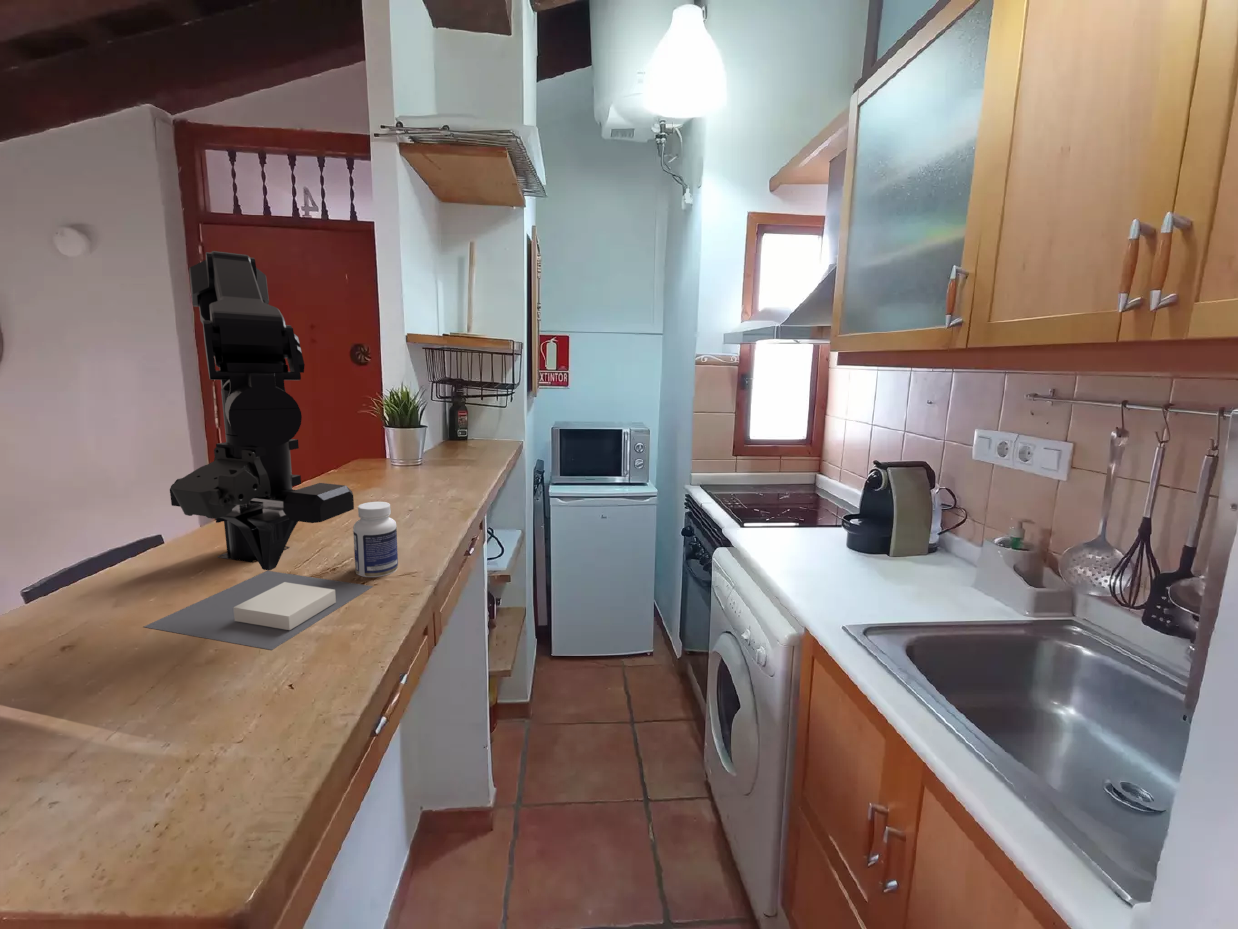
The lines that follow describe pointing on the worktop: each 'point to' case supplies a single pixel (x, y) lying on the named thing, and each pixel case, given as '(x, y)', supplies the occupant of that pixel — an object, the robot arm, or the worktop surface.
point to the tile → (284, 605)
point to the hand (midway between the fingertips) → (269, 569)
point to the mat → (219, 623)
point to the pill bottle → (375, 540)
